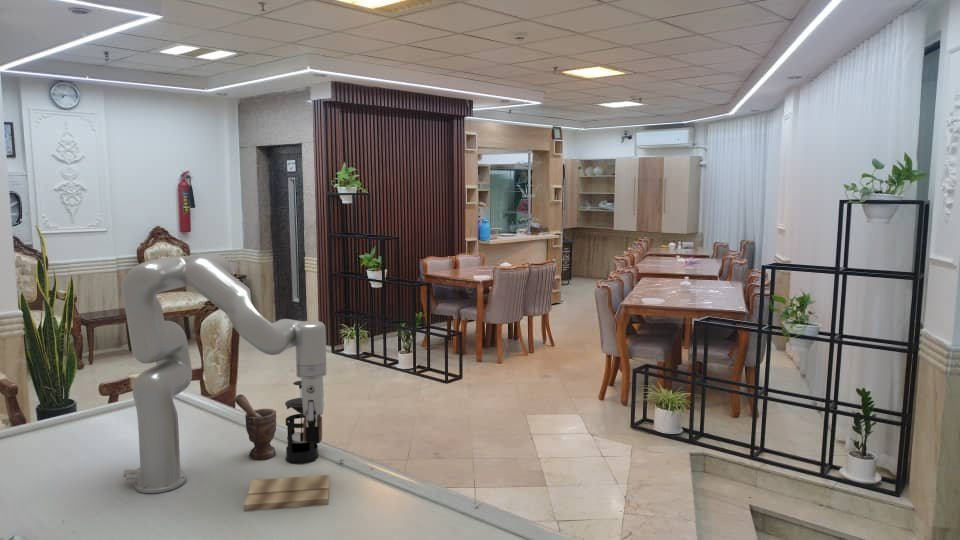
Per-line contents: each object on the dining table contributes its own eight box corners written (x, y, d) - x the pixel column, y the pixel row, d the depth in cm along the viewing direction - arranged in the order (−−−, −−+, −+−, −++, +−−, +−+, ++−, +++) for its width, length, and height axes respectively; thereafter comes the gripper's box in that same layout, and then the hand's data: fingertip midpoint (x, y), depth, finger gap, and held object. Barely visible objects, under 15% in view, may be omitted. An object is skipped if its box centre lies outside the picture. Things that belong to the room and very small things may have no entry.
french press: (298, 467, 188) (296, 388, 185) (276, 459, 193) (275, 383, 190) (329, 454, 197) (328, 379, 195) (308, 447, 203) (306, 374, 200)
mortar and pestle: (256, 467, 188) (254, 398, 185) (232, 462, 191) (230, 395, 189) (283, 452, 198) (281, 388, 196) (260, 448, 202) (258, 384, 199)
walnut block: (303, 441, 170) (303, 423, 170) (304, 435, 174) (304, 417, 174) (321, 440, 171) (321, 422, 170) (322, 434, 175) (321, 416, 175)
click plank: (247, 499, 168) (247, 493, 168) (251, 485, 174) (251, 480, 174) (328, 493, 172) (328, 488, 171) (329, 480, 178) (329, 474, 178)
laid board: (244, 511, 162) (243, 504, 162) (247, 500, 167) (247, 494, 167) (328, 504, 166) (327, 498, 165) (328, 494, 171) (328, 488, 171)
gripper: (325, 377, 163) (326, 448, 165) (327, 360, 180) (328, 425, 182) (293, 378, 162) (295, 450, 164) (298, 361, 178) (300, 427, 180)
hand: (313, 436), depth 173 cm, fingers closed on walnut block, 4 cm apart
